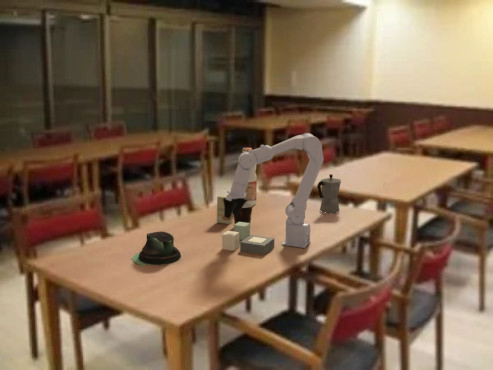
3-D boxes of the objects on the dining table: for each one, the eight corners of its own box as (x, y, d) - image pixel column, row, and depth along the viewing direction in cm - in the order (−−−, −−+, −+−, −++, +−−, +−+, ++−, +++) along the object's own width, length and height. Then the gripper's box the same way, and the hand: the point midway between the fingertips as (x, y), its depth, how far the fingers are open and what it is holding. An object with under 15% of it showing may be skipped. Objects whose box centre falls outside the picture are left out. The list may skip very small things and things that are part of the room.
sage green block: (250, 237, 242) (250, 223, 240) (245, 240, 237) (245, 226, 236) (238, 235, 243) (239, 221, 242) (233, 239, 239) (233, 224, 238)
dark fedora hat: (190, 250, 226) (190, 227, 224) (181, 268, 207) (180, 243, 205) (140, 248, 228) (139, 225, 226) (126, 267, 208) (125, 242, 206)
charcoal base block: (274, 247, 230) (274, 237, 229) (264, 255, 221) (264, 245, 220) (251, 244, 234) (251, 234, 233) (240, 251, 225) (240, 241, 224)
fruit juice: (233, 203, 294) (233, 148, 287) (247, 200, 300) (247, 146, 294) (246, 207, 287) (247, 150, 281) (260, 203, 293) (260, 148, 287)
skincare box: (216, 223, 260) (216, 196, 258) (219, 220, 264) (219, 194, 262) (230, 224, 259) (230, 197, 256) (233, 221, 263) (233, 195, 260)
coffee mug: (239, 223, 260) (239, 201, 258) (256, 226, 256) (256, 204, 254) (224, 230, 251) (224, 207, 248) (242, 233, 246) (242, 210, 244)
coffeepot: (331, 206, 289) (333, 171, 285) (346, 210, 282) (347, 174, 277) (309, 212, 279) (310, 175, 275) (324, 216, 272) (325, 178, 268)
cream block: (239, 246, 230) (239, 232, 228) (233, 250, 225) (233, 235, 224) (227, 245, 231) (227, 230, 230) (222, 249, 227) (222, 234, 226)
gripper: (238, 178, 234) (229, 210, 236) (223, 181, 220) (214, 214, 223) (254, 184, 231) (245, 216, 234) (239, 187, 218) (230, 221, 220)
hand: (231, 216), depth 228 cm, fingers open, 7 cm apart
